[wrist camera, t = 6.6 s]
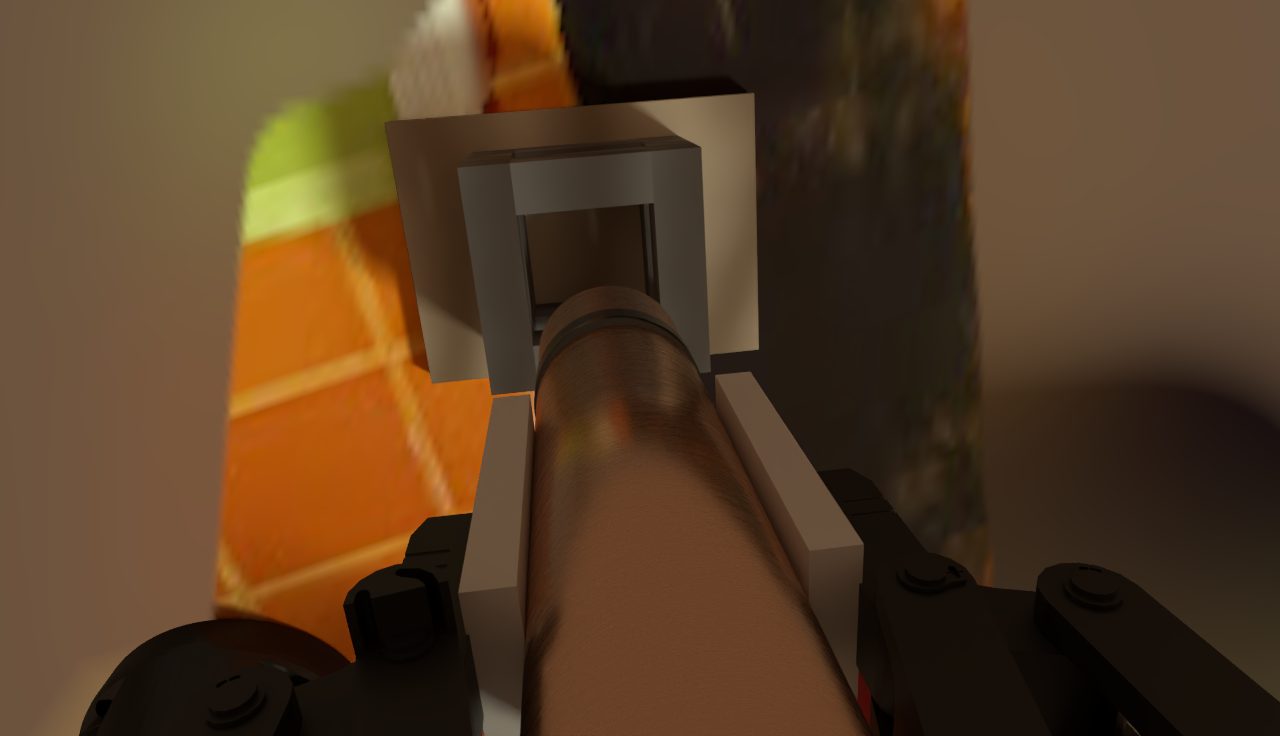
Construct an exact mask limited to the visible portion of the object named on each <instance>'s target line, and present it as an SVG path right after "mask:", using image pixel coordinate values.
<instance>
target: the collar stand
mask: <svg viewBox="0 0 1280 736" xmlns="http://www.w3.org/2000/svg"><path fill="white" fill-rule="evenodd" d="M385 128H386V134H387V139H388V145H389V150H390V156H391V161H392V167H393V172H394V178H395V183H396V189H397V194H398V200H399V205H400V211H401V216H402V222H403V227H404V233H405V238H406V244H407V249H408V255H409V260H410V266H411V271H412V277H413V282H414V288H415V293H416V299H417V304H418V310H419V315H420V321H421V326H422V332H423V337H424V343H425V348H426V354H427V359H428V365H429V370H430V376H431V381H432V383H442V382H451V381H461V380H470V379H480V378H489V381H490V387H491V394H492V395H497V394H507V393H516V392H526V391H535V382H536V373H537V369H538V359H539V345H540V340H541V336H542V333H543V330H544V328H545V325H546V324H547V322H548V320H549V318H550V317H551V316H552V314H553V313H554V312H555V310H556V309H557V308H558V307H559V306H560V305H561V304H563V303H564V302H565V301H566V300H568V299H569V298H571V297H572V296H574V295H576V294H577V293H580V292H582V291H584V290H587V289H590V288H594V287H600V286H613V285H614V286H624V287H628V288H632V289H635V290H638V291H640V292H642V293H644V294H646V295H648V296H650V297H651V298H653V299H654V300H655V301H657V302H658V303H659V304H660V305H661V306H662V307H663V308H664V309H665V310H666V312H667V313H668V314H669V316H670V317H671V319H672V321H673V322H674V324H675V326H676V329H677V331H678V333H679V335H680V337H681V338H682V339H683V341H684V342H685V344H686V346H687V347H688V349H689V351H690V353H691V355H692V357H693V359H694V361H695V363H696V365H697V367H698V370H699V372H700V373H705V372H711V367H710V354H720V353H729V352H739V351H749V350H758V349H759V341H758V284H757V228H756V171H755V115H754V93H739V94H726V95H714V96H701V97H689V98H676V99H664V100H651V101H639V102H626V103H614V104H601V105H589V106H576V107H564V108H551V109H539V110H526V111H514V112H501V113H489V114H476V115H464V116H451V117H439V118H426V119H414V120H401V121H389V122H386V123H385Z"/></svg>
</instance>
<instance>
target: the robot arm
mask: <svg viewBox="0 0 1280 736" xmlns="http://www.w3.org/2000/svg"><path fill="white" fill-rule="evenodd" d="M715 382H716V410H717V413H718V415H719V417H720V419H721V421H722V423H723V425H724V428H725V430H726V432H727V434H728V436H729V438H730V440H731V442H732V444H733V446H734V448H735V450H736V452H737V454H738V456H739V458H740V461H741V463H742V465H743V467H744V469H745V471H746V473H747V475H748V477H749V479H750V481H751V483H752V485H753V487H754V489H755V491H756V494H757V496H758V498H759V500H760V502H761V504H762V506H763V508H764V510H765V512H766V514H767V516H768V518H769V520H770V522H771V524H772V526H773V529H774V531H775V533H776V535H777V537H778V539H779V541H780V543H781V545H782V547H783V549H784V551H785V553H786V555H787V557H788V559H789V562H790V564H791V566H792V568H793V570H794V572H795V574H796V576H797V578H798V580H799V582H800V584H801V586H802V588H803V590H804V592H805V595H806V597H807V599H808V601H809V603H810V605H811V607H812V609H813V611H814V613H815V615H816V617H817V619H818V621H819V623H820V625H821V628H822V630H823V632H824V634H825V636H826V638H827V640H828V642H829V644H830V646H831V648H832V650H833V652H834V654H835V656H836V658H837V661H838V663H839V665H840V667H841V669H842V671H843V673H844V675H845V677H846V679H847V681H848V683H849V685H850V687H851V689H852V691H853V694H854V696H855V698H856V700H857V698H858V674H859V671H860V673H861V675H862V677H863V679H864V681H865V683H866V685H867V687H868V689H869V691H870V693H871V702H870V722H869V727H870V729H871V731H872V733H873V735H874V736H1139V735H1138V734H1137V733H1136V732H1135V731H1134V730H1133V729H1132V728H1131V727H1130V726H1129V725H1128V723H1127V721H1128V722H1129V723H1130V724H1131V725H1132V726H1133V727H1134V728H1135V729H1136V730H1137V732H1138V733H1139V734H1140V735H1141V736H1280V702H1279V701H1278V700H1277V699H1275V698H1274V697H1273V696H1272V695H1270V694H1269V693H1268V692H1267V691H1266V690H1264V689H1263V688H1262V687H1261V686H1260V685H1258V684H1257V683H1256V682H1255V681H1253V680H1252V679H1251V678H1250V677H1249V676H1247V675H1246V674H1245V673H1244V672H1243V671H1241V670H1240V669H1239V668H1238V667H1236V666H1235V665H1234V664H1233V663H1232V662H1230V661H1229V660H1228V659H1227V658H1226V657H1224V656H1223V655H1222V654H1221V653H1219V652H1218V651H1217V650H1216V649H1215V648H1213V647H1212V646H1211V645H1210V644H1209V643H1207V642H1206V641H1205V640H1204V639H1203V638H1201V637H1200V636H1199V635H1198V634H1196V633H1195V632H1194V631H1193V630H1192V629H1190V628H1189V627H1188V626H1187V625H1185V624H1184V623H1183V622H1182V621H1181V620H1179V619H1178V618H1177V617H1176V616H1175V615H1173V614H1172V613H1171V612H1170V611H1168V610H1167V609H1166V608H1165V607H1164V606H1162V605H1161V604H1160V603H1159V602H1158V601H1156V600H1155V599H1154V598H1153V597H1151V596H1150V595H1149V594H1148V593H1147V592H1145V591H1144V590H1143V589H1142V588H1141V587H1139V586H1138V585H1137V584H1135V583H1134V582H1132V581H1130V580H1129V579H1127V578H1126V577H1124V576H1122V575H1121V574H1118V573H1116V572H1113V571H1110V570H1108V569H1105V568H1102V567H1099V566H1095V565H1088V564H1082V563H1060V564H1057V565H1054V566H1051V567H1047V568H1045V569H1044V571H1043V572H1042V573H1041V574H1040V575H1039V576H1038V579H1037V588H1036V592H1033V591H1022V590H1011V589H1000V588H992V587H986V586H980V585H977V583H976V581H975V579H974V578H973V576H972V575H971V574H970V573H969V572H968V570H967V569H966V568H965V567H963V566H962V565H960V564H958V563H957V562H955V561H954V560H952V559H950V558H947V557H944V556H941V555H937V554H934V553H928V552H927V551H926V550H925V549H924V547H923V546H922V545H921V544H920V542H919V541H918V540H917V538H916V537H915V536H914V535H913V533H912V532H911V531H910V529H909V528H908V527H907V526H906V524H905V523H904V522H903V520H902V519H901V518H900V517H899V515H898V514H897V513H894V509H893V508H892V506H891V505H890V504H889V503H888V501H887V500H884V496H883V495H882V494H881V492H880V491H879V490H878V488H877V487H876V486H875V485H874V483H873V482H872V481H871V480H869V479H868V478H866V477H864V476H862V475H861V474H859V473H857V472H855V471H854V470H852V469H850V468H846V469H837V470H828V471H819V472H816V471H815V469H814V468H813V466H812V465H811V463H810V462H809V460H808V459H807V457H806V456H805V454H804V453H803V451H802V450H801V448H800V447H799V445H798V443H797V442H796V440H795V439H794V437H793V436H792V434H791V433H790V431H789V430H788V428H787V427H786V425H785V424H784V422H783V421H782V419H781V418H780V416H779V415H778V413H777V412H776V410H775V409H774V407H773V406H772V404H771V403H770V401H769V400H768V398H767V397H766V395H765V394H764V392H763V390H762V389H761V387H760V386H759V384H758V383H757V381H756V380H755V378H754V377H753V375H752V374H751V372H743V373H733V374H723V375H715ZM534 446H535V430H534V422H533V414H532V406H531V399H530V394H529V395H519V396H509V397H499V398H494V399H493V404H492V410H491V415H490V421H489V426H488V432H487V437H486V443H485V448H484V454H483V459H482V465H481V470H480V476H479V481H478V487H477V492H476V498H475V503H474V509H473V513H466V514H458V515H449V516H440V517H431V518H427V519H426V520H425V521H424V522H423V523H422V525H421V526H420V527H419V528H418V529H417V530H416V531H415V532H414V533H413V534H412V535H411V537H410V540H409V543H408V547H407V550H406V553H405V558H404V560H403V563H402V564H396V565H393V566H390V567H387V568H384V569H381V570H378V571H376V572H374V573H372V574H370V575H369V576H367V577H365V578H364V579H362V580H360V581H359V582H358V583H357V584H356V585H355V586H354V587H353V588H352V589H351V590H350V591H349V592H348V594H347V596H346V599H345V601H344V604H343V607H344V611H345V615H346V619H347V623H348V627H349V631H350V635H351V639H352V643H353V647H354V651H355V655H356V661H355V662H353V663H352V664H350V663H349V662H348V661H347V660H346V659H345V658H344V657H342V656H341V655H340V654H339V653H337V652H336V651H334V650H333V649H332V648H330V647H328V646H327V645H325V644H324V643H322V642H320V641H318V640H316V639H315V638H312V637H310V636H308V635H306V634H303V633H301V632H298V631H296V630H293V629H290V628H287V627H283V626H279V625H276V624H271V623H266V622H260V621H253V620H240V619H223V620H210V621H203V622H197V623H192V624H187V625H184V626H181V627H177V628H174V629H171V630H169V631H166V632H164V633H161V634H159V635H157V636H155V637H153V638H152V639H150V640H148V641H146V642H145V643H143V644H141V645H140V646H139V647H137V648H136V649H135V650H134V651H132V652H131V653H130V654H129V655H128V656H126V657H125V658H124V660H123V661H122V662H121V663H120V664H119V665H118V666H117V668H116V669H115V670H114V672H113V673H112V674H111V676H110V677H109V679H108V680H107V681H106V683H105V684H104V685H103V687H102V688H101V689H100V691H99V692H98V694H97V695H96V697H95V698H94V700H93V701H92V703H91V705H90V707H89V709H88V711H87V713H86V715H85V717H84V720H83V723H82V726H81V730H80V734H79V736H482V730H483V731H484V736H520V725H521V704H522V684H523V664H524V648H525V632H526V611H527V590H528V570H529V549H530V529H531V508H532V487H533V467H534Z"/></svg>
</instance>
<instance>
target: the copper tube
mask: <svg viewBox="0 0 1280 736" xmlns="http://www.w3.org/2000/svg"><path fill="white" fill-rule="evenodd" d="M534 409H535V417H536V420H535V446H534V467H533V487H532V508H531V529H530V549H529V570H528V590H527V611H526V632H525V648H524V664H523V684H522V704H521V725H520V736H874V735H873V733H872V731H871V729H870V727H869V724H868V722H867V720H866V718H865V716H864V714H863V712H862V710H861V708H860V706H859V704H858V702H857V700H856V698H855V696H854V694H853V691H852V689H851V687H850V685H849V683H848V681H847V679H846V677H845V675H844V673H843V671H842V669H841V667H840V665H839V663H838V661H837V658H836V656H835V654H834V652H833V650H832V648H831V646H830V644H829V642H828V640H827V638H826V636H825V634H824V632H823V630H822V628H821V625H820V623H819V621H818V619H817V617H816V615H815V613H814V611H813V609H812V607H811V605H810V603H809V601H808V599H807V597H806V595H805V592H804V590H803V588H802V586H801V584H800V582H799V580H798V578H797V576H796V574H795V572H794V570H793V568H792V566H791V564H790V562H789V559H788V557H787V555H786V553H785V551H784V549H783V547H782V545H781V543H780V541H779V539H778V537H777V535H776V533H775V531H774V529H773V526H772V524H771V522H770V520H769V518H768V516H767V514H766V512H765V510H764V508H763V506H762V504H761V502H760V500H759V498H758V496H757V494H756V491H755V489H754V487H753V485H752V483H751V481H750V479H749V477H748V475H747V473H746V471H745V469H744V467H743V465H742V463H741V461H740V458H739V456H738V454H737V452H736V450H735V448H734V446H733V444H732V442H731V440H730V438H729V436H728V434H727V432H726V430H725V428H724V425H723V423H722V421H721V419H720V417H719V415H718V413H717V411H716V409H715V407H714V405H713V403H712V401H711V399H710V397H709V395H708V392H707V390H706V388H705V386H704V384H703V381H702V377H701V374H700V372H699V370H698V367H697V365H696V363H695V361H694V359H693V357H692V355H691V353H690V351H689V349H688V347H687V346H686V344H685V342H684V341H683V339H682V338H681V337H680V335H679V333H678V331H677V329H676V326H675V324H674V322H673V321H672V319H671V317H670V316H669V314H668V313H667V312H666V310H665V309H664V308H663V307H662V306H661V305H660V304H659V303H658V302H657V301H655V300H654V299H653V298H651V297H650V296H648V295H646V294H644V293H642V292H640V291H638V290H635V289H632V288H628V287H624V286H614V285H613V286H600V287H594V288H590V289H587V290H584V291H582V292H580V293H577V294H576V295H574V296H572V297H571V298H569V299H568V300H566V301H565V302H564V303H563V304H561V305H560V306H559V307H558V308H557V309H556V310H555V312H554V313H553V314H552V316H551V317H550V318H549V320H548V322H547V324H546V325H545V328H544V330H543V333H542V336H541V340H540V345H539V359H538V369H537V373H536V382H535V398H534Z"/></svg>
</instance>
